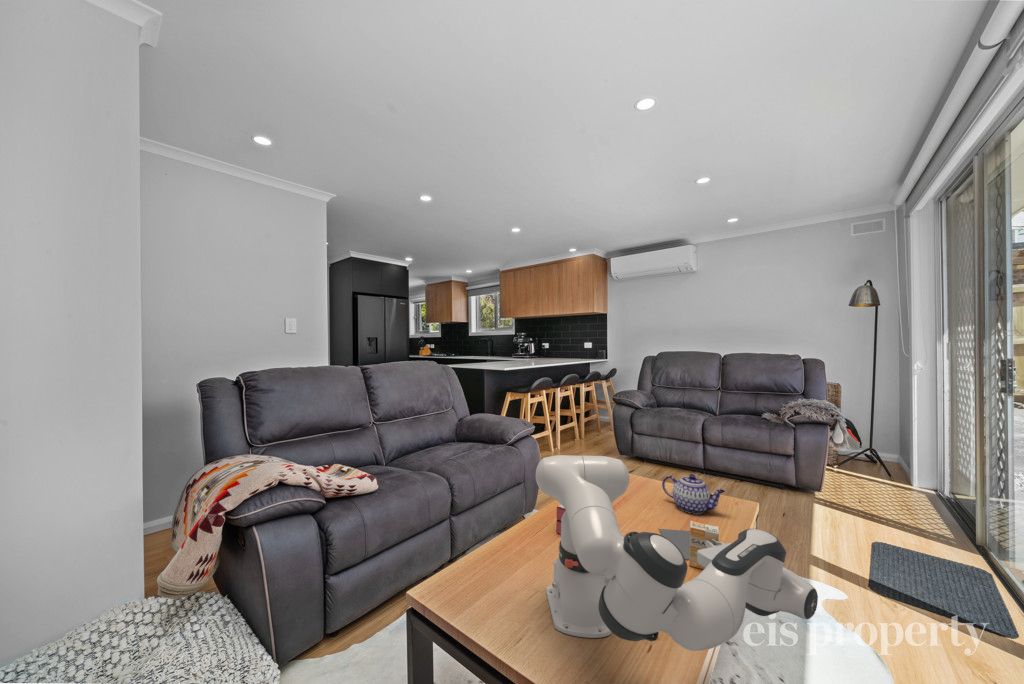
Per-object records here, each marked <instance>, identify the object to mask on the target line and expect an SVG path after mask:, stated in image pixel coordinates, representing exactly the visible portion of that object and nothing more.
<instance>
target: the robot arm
mask: <svg viewBox="0 0 1024 684" xmlns="http://www.w3.org/2000/svg"><path fill="white" fill-rule="evenodd" d="M629 473H630V472H629V470H628V467H627V466H626V464H625V463H624V462H623V460H621V459H618V458H615V457H610V456H605V455H571V454H570V455H568V454H567V455H565V454H563V455H562V454H557V455H551V456H546V457H543V458H542V459H540V461H539V462H538V464H537V466H536V469H535V481H536V484H537V486H538V488H539V490H540V491H541V492H542V493H543V494H545V495H547V496H549V497H551V498H553V499H555V500H556V501H557V502H558V503H559V505H562V506H563V507H564V508H565V510H566V511H565V512H564V514H563V516H562V519H561V535H560V540H559V545H558V558H557V559H556V560H555V561H554V562H553V573H552V580H553V581H552V584H551V585H548V586H547V587H546V588H545V594H546V598H547V602H548V606H549V610H550V614H551V619H552V623H553V627H554V629H556V630H557V631H559V632H561V633H564V634H565V635H569V636H575V637H580V638H589V639H590V638H591V639H592V638H593V639H594V638H595V639H597V638H599V639H600V638H604V637H608V636H610V635H612V634H613V635H615V636H616V637H618V638H620V639H622V640H624V641H625V640H626V641H629V642H640V641H643V640H645V641H649V642H655V641H657V639H658V637H659V633H660V632H663V633H666V634H667V635H668V636H669V637H670V638H671V639H672V640H673V642H675V643H676V644H677V645H678V646H679V647H681V648H683V649H685V650H687V651H693V652H699V651H706V650H710V649H711V650H712V649H713V648H714V649H715V648H716V647H719V646H721V645H723V644H725V643H726V642H728V641H729V640H731V639H732V638H734V637H735V635H736V634H737V633H738V632H739V630H740V628H741V626H742V624H743V622H744V618H745V613H746V612H745V611H746V609H747V611H749V612H752V613H753V614H755V615H757V616H760V617H767V616H771V615H774V614H777V613H779V612H784V613H789V614H791V615H793V616H795V617H796V616H797V617H798V618H800V619H803V620H810V619H811V618H813V616H814V615H815V614H816V611H817V608H818V602H819V601H818V599H819V597H818V595H819V594H818V591H817V589H816V587H814V586H813V585H812V584H811V583H810V582H808V581H807V580H806V579H804V578H802V577H801V576H799V575H798V574H796V573H795V572H793V571H791V570H790V569H788V568H786V567H785V566H784V563H785V560H786V556H787V551H786V549H785V547H784V546H783V544H782V543H781V541H780V540H779V539H778V538H777V536H775V535H773V533H770V532H767V531H764V530H761V529H756V528H748V529H744V530H743V531H740V532H739V533H738V534H737V539H736V540H735V541H733V542H728V543H725V542H721V541H719V542H718V541H715V540H714V539H712V540H707V541H705V546H706V547H708V548H705V549H700V550H698V551H697V561H698V563H699V564H700V565H701V566H703V567H704V568H705V569H702V571H700V573H699V574H698V575H696V576H695V577H694V578H692V579H690V580H688V581H686V582H685V580H686V577H687V573H688V564H687V563H688V562H687V560H685V558H684V556H683V554H682V553H681V551H680V550H679V549H678V548H677V546H676V545H675V544H673V543H672V542H671V541H670V540H668V539H667V538H665V537H664V536H662V535H661V534H659V533H655V532H648V531H641V532H638V531H630V532H628V533H626V534H625V535H624V536H623V534H622V532H621V529H620V526H619V523H618V519H617V516H616V512H615V510H614V507H613V503H615V501H616V500H617V499H618V498H620V497H621V496H623V495H624V494H625V493H626V491H627V490H628V487H629V486H630V474H629Z"/></svg>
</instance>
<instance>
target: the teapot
mask: <svg viewBox="0 0 1024 684" xmlns="http://www.w3.org/2000/svg"><path fill="white" fill-rule="evenodd" d="M667 479H671V481H672V484H673V487H672V493H670V492H669V491H668V490H667V488H666V487H665V486H666V485H665V484H666V482H667ZM661 483H662V484H661V487H662V490H663V491H664V493H665V494H666V495H667V496H669V498H671V499H673V501H674V502H675V504H676V505H677V507H678V508H679V509H680V510H681V511H683V512H684V511H685V513H687V512H688V514H691V513H693V514H694V515H701V513H702V514H703V513H705V512H707V511H713V510H715V509H716V508H717V507H718V505H719V500H720V497H721V496H720V495H722V494H723V493H725V492H726V490H724V489H722V488H718V489H716V491H715V492H714V493H713V494H712V491H711V489H710V488H709V487H708V486H707V484H706V482H705V481H704V480H703V479H701V478H697V476H696V475H695V474H693V473H692V474H689V475H688V476H682V477H680V478H679V479H678V480H676V478H674V476H672V475H667V476H665V477H664V478H663V480H662V482H661ZM693 514H692V515H693Z"/></svg>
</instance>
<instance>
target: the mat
mask: <svg viewBox="0 0 1024 684" xmlns="http://www.w3.org/2000/svg"><path fill="white" fill-rule="evenodd" d="M658 531H659V533H660V535H662V536H664V537H665V538H667V539H668V540H670V541H671V542H672V543H673V544H675V545H676V546H677V548H678V549H679V550H680V551H681V553H682V554H683V556H684V558H685V560H686V561H689V549H690V530H683V529H682V530H681V529H671V528H670V529H669V528H667V529H666V528H658Z"/></svg>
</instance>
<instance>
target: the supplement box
mask: <svg viewBox="0 0 1024 684" xmlns="http://www.w3.org/2000/svg"><path fill="white" fill-rule="evenodd" d="M719 528H720V527H719V526H716V525H711V524H708V523H704V522H703V523H702V522H698V521H694V520H690V522H689V531H690V549H689V560H688V566H689V567H692V568H698V569H701V570H704V569H705V568H704V567H703V566H701V565H700V564H699V563H698V561H697V551H698V550H700V549H705V548H708V547H706V546H705V541H707V540H712V539H714V540H715V541H718V542H720V539H719V537H720V532H719V530H720V529H719Z"/></svg>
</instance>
